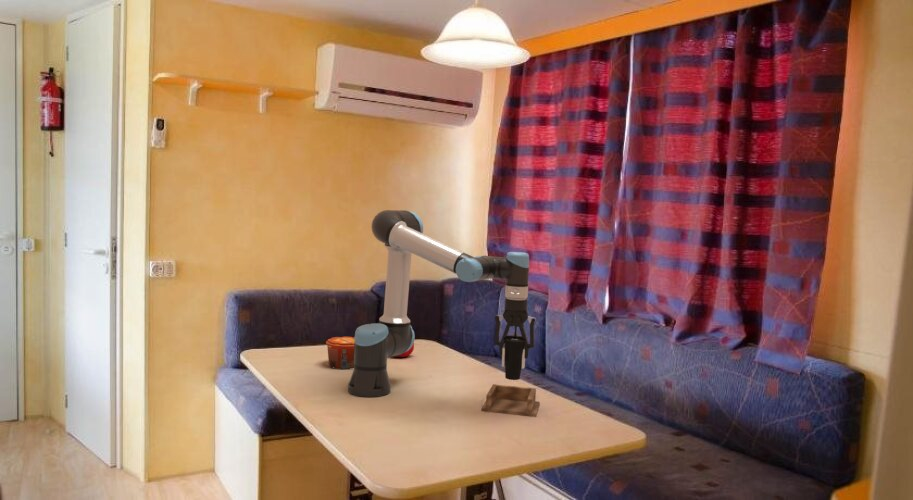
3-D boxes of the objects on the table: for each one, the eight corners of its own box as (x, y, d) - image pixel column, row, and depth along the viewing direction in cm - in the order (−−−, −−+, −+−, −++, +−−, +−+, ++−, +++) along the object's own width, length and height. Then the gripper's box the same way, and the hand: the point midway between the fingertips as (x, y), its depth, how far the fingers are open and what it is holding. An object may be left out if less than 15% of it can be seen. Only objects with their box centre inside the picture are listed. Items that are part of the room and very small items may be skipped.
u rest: (481, 410, 214) (481, 394, 214) (488, 399, 228) (488, 383, 227) (535, 416, 210) (536, 400, 210) (539, 404, 224) (540, 388, 224)
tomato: (412, 360, 282) (413, 334, 281) (381, 359, 282) (382, 332, 281) (414, 354, 294) (415, 328, 293) (385, 352, 294) (386, 327, 293)
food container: (372, 365, 270) (373, 339, 269) (346, 372, 256) (347, 345, 256) (343, 359, 278) (344, 334, 278) (316, 366, 265) (317, 340, 264)
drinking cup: (522, 382, 214) (526, 322, 212) (499, 379, 215) (503, 320, 214) (525, 376, 221) (529, 318, 220) (503, 374, 223) (506, 316, 222)
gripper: (486, 298, 215) (483, 366, 216) (543, 301, 211) (540, 371, 213) (490, 295, 222) (487, 362, 224) (545, 298, 219) (542, 366, 220)
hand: (513, 366), depth 218 cm, fingers closed on drinking cup, 6 cm apart
